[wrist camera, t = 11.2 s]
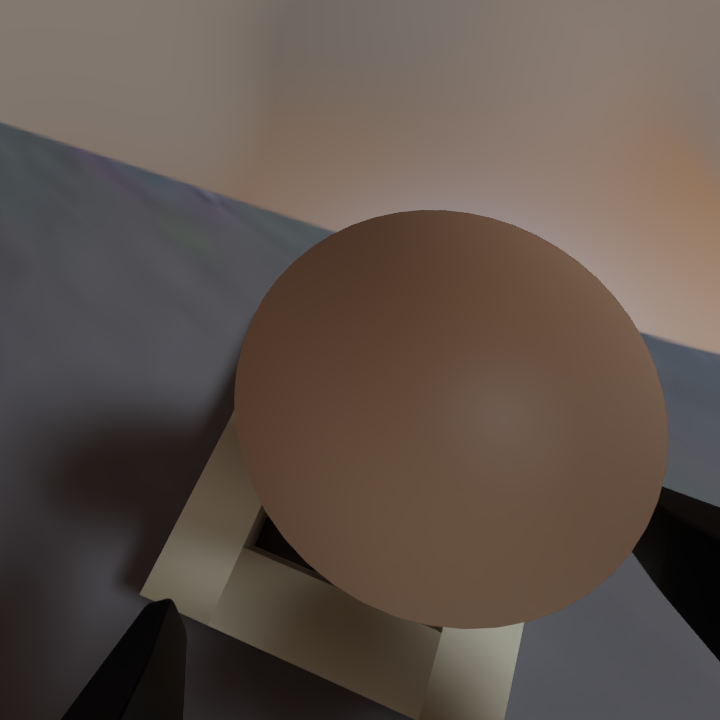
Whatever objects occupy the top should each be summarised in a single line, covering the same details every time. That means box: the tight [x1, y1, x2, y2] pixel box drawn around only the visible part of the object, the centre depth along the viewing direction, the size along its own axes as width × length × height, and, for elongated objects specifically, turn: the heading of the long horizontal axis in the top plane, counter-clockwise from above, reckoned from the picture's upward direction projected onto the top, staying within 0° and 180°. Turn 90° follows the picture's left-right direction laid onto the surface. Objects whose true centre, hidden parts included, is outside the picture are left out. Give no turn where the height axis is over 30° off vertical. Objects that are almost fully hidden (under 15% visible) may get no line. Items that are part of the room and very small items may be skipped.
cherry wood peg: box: [234, 210, 668, 629], centre depth 10 cm, size 5×5×12 cm
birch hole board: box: [139, 410, 524, 720], centre depth 15 cm, size 11×11×2 cm
